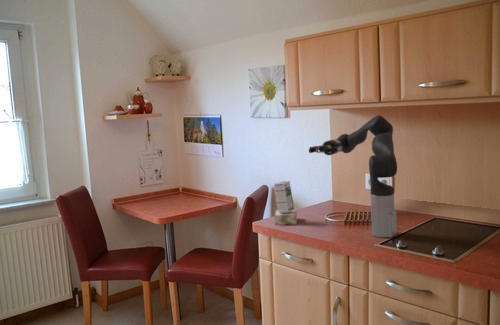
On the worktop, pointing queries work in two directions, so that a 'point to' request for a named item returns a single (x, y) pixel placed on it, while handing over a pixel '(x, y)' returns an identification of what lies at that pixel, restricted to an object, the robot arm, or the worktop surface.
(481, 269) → the worktop surface
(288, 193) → the syrup box
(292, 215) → the ash block
